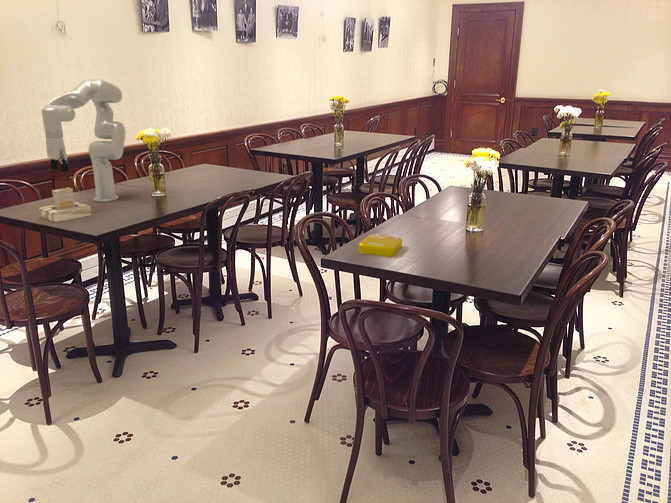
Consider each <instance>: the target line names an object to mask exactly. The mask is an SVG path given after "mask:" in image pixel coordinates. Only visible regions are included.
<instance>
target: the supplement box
mask: <svg viewBox="0 0 671 503" xmlns="http://www.w3.org/2000/svg"><path fill="white" fill-rule="evenodd" d="M51 192H52V198H53V203H54V204H53V205H55V210H57V211H59V210H64V209H69V208H74V207H75V202H76V201H75V197H74V189H73V188H71V187H63V188H58V189H52V190H51ZM74 201H75V202H74Z"/></svg>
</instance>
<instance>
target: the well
mask: <svg viewBox="0 0 671 503" xmlns="http://www.w3.org/2000/svg"><path fill="white" fill-rule="evenodd" d="M74 202H75V207H74V208H69V209H64V210H59V211H57V210H55V205H54V204H52V205H47V206H46V205H45V206H42V207H41V206H40V207H39V208H38V212H39V217H40V218H42V219H45V220H48V221H50V222H53V223H62V222H67V221H70V220H75V219H79V218H85V217H89V216H92V215H93V214H92V207H91V205H88V204H85V203H83V202H78V201H75V200H74Z"/></svg>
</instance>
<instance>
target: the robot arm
mask: <svg viewBox="0 0 671 503" xmlns="http://www.w3.org/2000/svg"><path fill="white" fill-rule="evenodd" d="M122 92H123V91H122V89H120V88H119V87H118V86H116V85H114V84H112V83H111V82H108V81H107V80H103V79H85V80H83V81H81V82H80V83H79V84H77V86H76V87H74V88H73V89H72V90H71V91H70V92H67V93H65V94H62V95H60V96H56V97H55V98H52V100H50V101H49V102H48V103H47V104H46V105H45V106H44V107H43V108H42V109H41V115H42V121H43V128H44V133H45V134H44V135H45V147H46V156H47V158H48V159H49V164H50V169H51V170H52V171H53V170H58V169H59V165H58V164H60V171H61V173H67V172H69V168H68V167H69V166H68V161H69V160H68V156H69V155H68V154H67V151H66V146H65V142H64V141H65V140H64V132H63V126H62V123H63V122H64V123H65V122H66V123H69V122H72V121H73V120H74V119H75V118H76V112H75V109H79V108H81V107H82V108H83V107H84V106H85V105H87V103H88V102H89V101H90V100H91V101H92V103H93V105H94V107H95V111H96V114H95V122H94V131H93V132H94V137H96V138H97V139H101V140H95V141H92V142H90V144H89V145H88V154H89V157H90V160H91V165H92V170H93V171H92V172H93V178H94V186H95V191H94V194H96V196H94V197H93V200H94V201H95V202H97V203H99V202H100V203H103V202H104V203H105V202H107V203H108V202H114V201H117V200H118V199H120V198H119V196H118V195H117V194H116V190H115V182H114V173H113V167H112V166H113V165H112V164H111V161H109V160H112V161H113V160H114V161H115V160H116V161H117V160H120V159H121V158H122V157H123V153H124V147H125V140H126V129H125V125H124V124H123V123H122V122H120V121H114V111H113V108H112V107H111V106H110V104H118V103H120V102H121V101H122V98H123V93H122ZM58 161H59V162H60V163H58Z"/></svg>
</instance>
